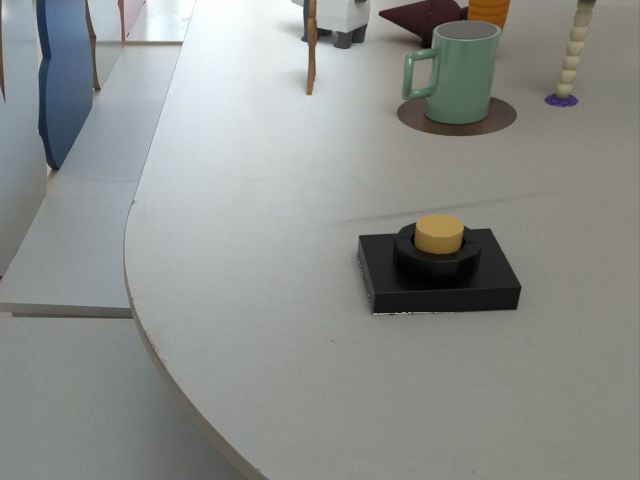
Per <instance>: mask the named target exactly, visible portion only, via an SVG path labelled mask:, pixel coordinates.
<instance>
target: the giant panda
mask: <svg viewBox="0 0 640 480" xmlns="http://www.w3.org/2000/svg"><path fill="white" fill-rule="evenodd" d="M290 1H291V3H293V4H295V5H297V6H299V7H302V19H303V36H301V38H300V40H301V41H303V42H308V41H307V25H308V18H309V4H310V0H290ZM370 14H371V0H316V20H317V41H318V40H319V35H320V36H326V37H328V36H331V35H332V34H333V31H334V32H336V35H337V39H336V41H335V42H334V43H333V47H336V48H340V49H349V48H351V47H352V42H353V43H362V42H364V41H365V36H366V32H367V28H368V25H369V20H370V16H371V15H370Z"/></svg>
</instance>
